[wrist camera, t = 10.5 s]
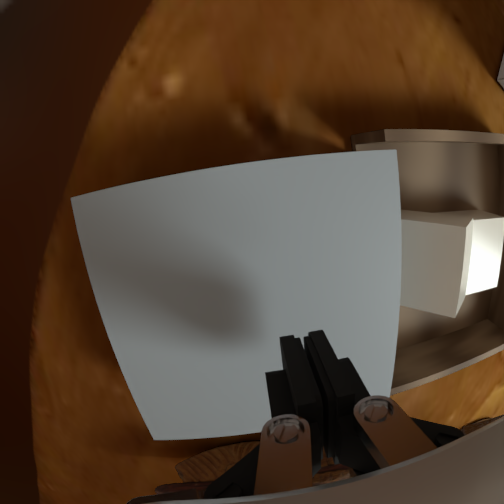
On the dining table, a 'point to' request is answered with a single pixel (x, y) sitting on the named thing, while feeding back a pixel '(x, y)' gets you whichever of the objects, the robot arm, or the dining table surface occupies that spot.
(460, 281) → the cream upright block
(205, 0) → the dining table surface
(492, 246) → the cream square-faced block
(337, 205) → the grey square block
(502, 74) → the tea box
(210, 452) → the wooden carving
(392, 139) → the box
